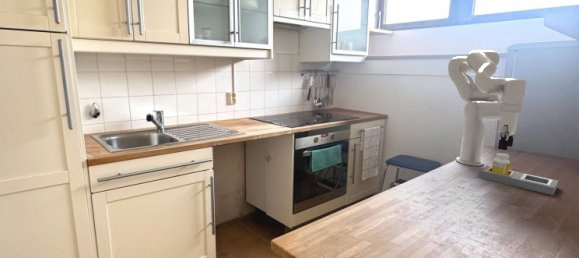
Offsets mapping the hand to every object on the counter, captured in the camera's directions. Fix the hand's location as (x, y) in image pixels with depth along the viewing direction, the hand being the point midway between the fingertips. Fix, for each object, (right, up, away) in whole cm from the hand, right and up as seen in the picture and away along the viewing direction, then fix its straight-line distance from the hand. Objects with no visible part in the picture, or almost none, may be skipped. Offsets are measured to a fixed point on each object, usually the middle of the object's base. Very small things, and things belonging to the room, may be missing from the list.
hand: (505, 147), depth 138 cm
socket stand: (+4, -15, -1) cm, 15 cm away
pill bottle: (0, -14, +4) cm, 14 cm away
